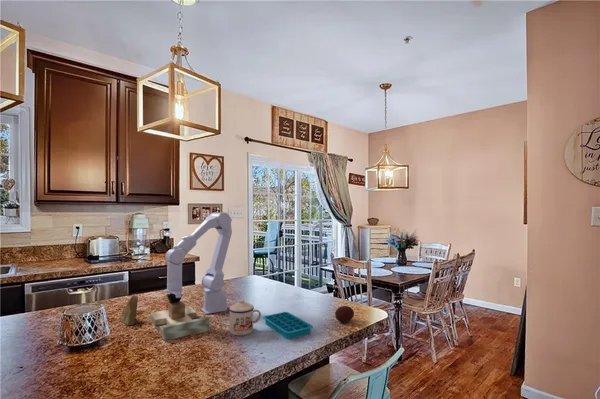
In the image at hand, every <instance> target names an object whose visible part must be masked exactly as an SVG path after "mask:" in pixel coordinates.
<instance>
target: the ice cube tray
mask: <svg viewBox="0 0 600 399" xmlns="http://www.w3.org/2000/svg"><path fill="white" fill-rule="evenodd" d="M262 318H263V319H264V322H265V326H267V327H269V329H272V330H273V331H274V332H276V333H277V334H278V335H280V336H282V337H283V338H285V339H286V340H292V339H296V338H299V337H303V336H307V335H310V334H311V329H313V327H314V325H312V324H310V323H309V322H307V321H305V320H303V319H301V318H299V317H297V316H295V315H294V314H292V313H290V312H288V311H283V312H278V313H273V314H268V315H264V316H263V317H262Z"/></svg>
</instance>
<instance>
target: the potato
mask: <svg viewBox="0 0 600 399" xmlns="http://www.w3.org/2000/svg"><path fill="white" fill-rule="evenodd" d="M334 316H335V319H336V320H337V321H338V322H340V323H347V322H349V321H352V319H353V318H354V316H355V310H354V309H353V308H352V307H351V306H348V305H342V306H340V307H338V308H337V309H336V310H335V313H334Z"/></svg>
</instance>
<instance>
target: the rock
mask: <svg viewBox="0 0 600 399" xmlns="http://www.w3.org/2000/svg"><path fill="white" fill-rule="evenodd" d="M138 300H139V297H138V296H137V295H135V294H134V295H132V296H130V299H129V300H128V302H127V303H126V305H125V306H124V308H123V310H122V313H121V318H120V321H121V322H122V323H124V324H125V325H127V326H132V325H135V322H136V317H137V311H138Z"/></svg>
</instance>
